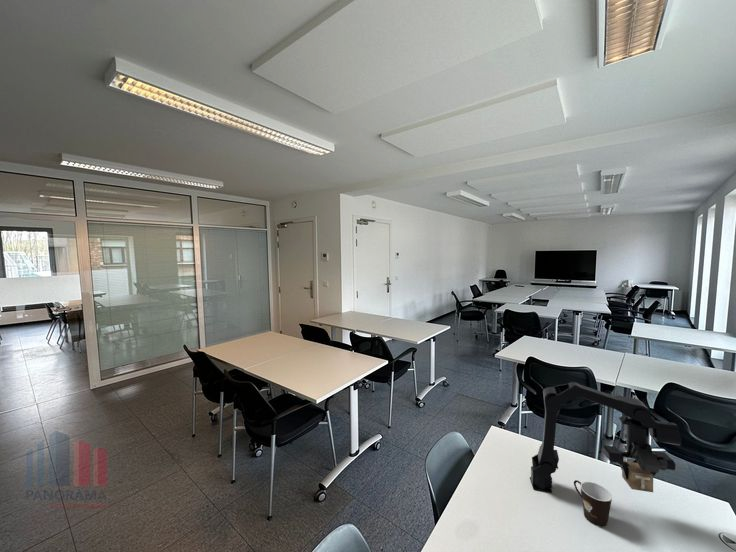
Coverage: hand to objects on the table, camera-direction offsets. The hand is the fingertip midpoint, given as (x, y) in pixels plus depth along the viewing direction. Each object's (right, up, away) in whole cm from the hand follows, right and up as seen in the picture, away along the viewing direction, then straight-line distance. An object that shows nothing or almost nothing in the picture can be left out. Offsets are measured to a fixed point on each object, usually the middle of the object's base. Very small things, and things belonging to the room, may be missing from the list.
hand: (637, 480), depth 102 cm
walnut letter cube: (0, -2, 0) cm, 2 cm away
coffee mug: (-16, -13, 0) cm, 20 cm away
